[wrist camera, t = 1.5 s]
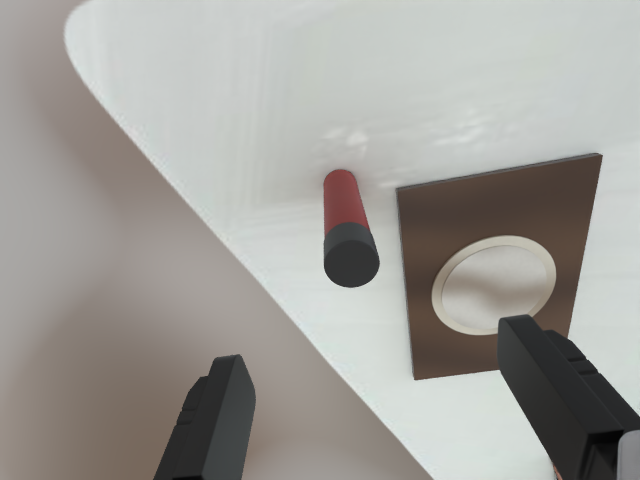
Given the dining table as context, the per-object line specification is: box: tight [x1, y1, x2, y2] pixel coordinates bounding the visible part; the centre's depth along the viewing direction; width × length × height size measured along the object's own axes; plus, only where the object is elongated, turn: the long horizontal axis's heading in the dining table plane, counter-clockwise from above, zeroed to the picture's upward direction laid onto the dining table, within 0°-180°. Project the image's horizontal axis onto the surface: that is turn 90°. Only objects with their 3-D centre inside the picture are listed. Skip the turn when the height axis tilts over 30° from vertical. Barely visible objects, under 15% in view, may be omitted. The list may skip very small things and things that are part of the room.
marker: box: [324, 170, 380, 288], centre depth 20 cm, size 2×2×11 cm
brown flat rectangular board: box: [396, 153, 603, 380], centre depth 29 cm, size 20×14×1 cm
